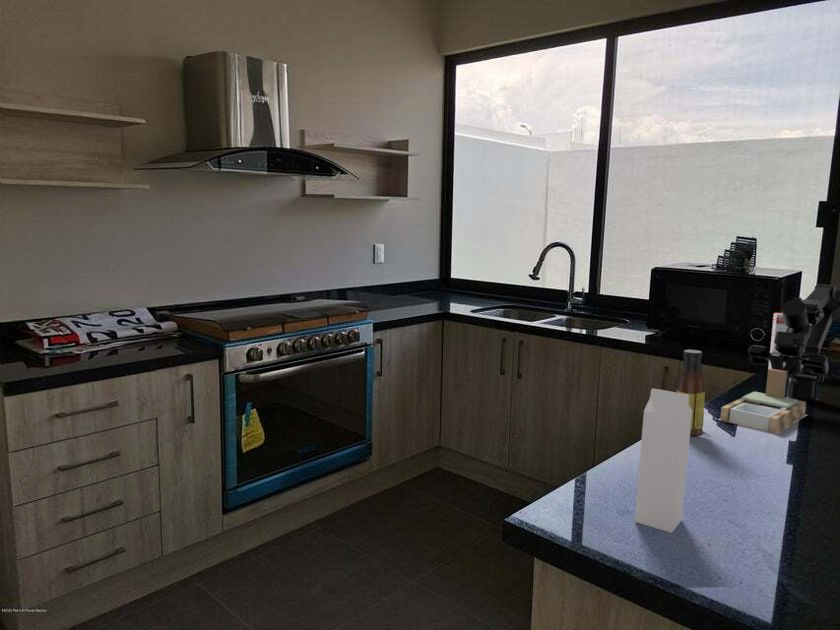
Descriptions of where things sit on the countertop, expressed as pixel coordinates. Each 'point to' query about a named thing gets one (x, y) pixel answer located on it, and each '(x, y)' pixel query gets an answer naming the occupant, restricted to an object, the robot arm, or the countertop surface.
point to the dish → (752, 415)
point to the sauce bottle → (693, 388)
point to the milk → (663, 460)
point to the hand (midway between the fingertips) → (777, 384)
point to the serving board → (776, 421)
